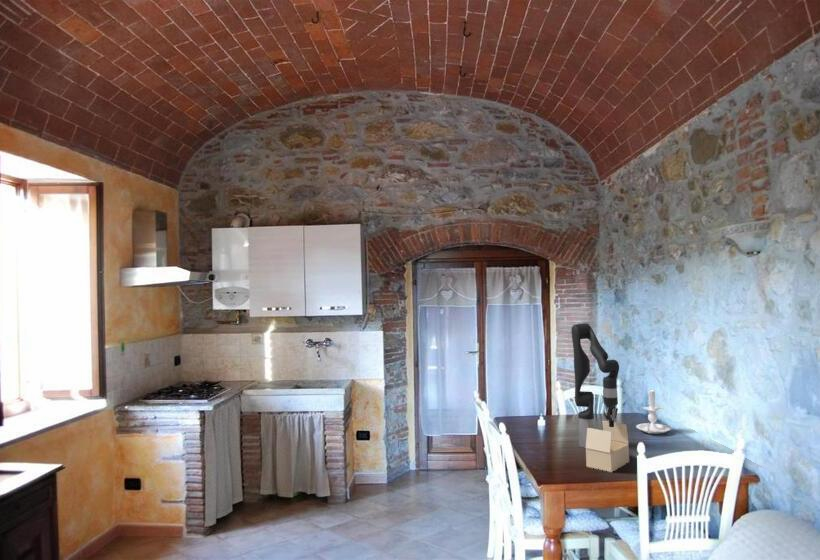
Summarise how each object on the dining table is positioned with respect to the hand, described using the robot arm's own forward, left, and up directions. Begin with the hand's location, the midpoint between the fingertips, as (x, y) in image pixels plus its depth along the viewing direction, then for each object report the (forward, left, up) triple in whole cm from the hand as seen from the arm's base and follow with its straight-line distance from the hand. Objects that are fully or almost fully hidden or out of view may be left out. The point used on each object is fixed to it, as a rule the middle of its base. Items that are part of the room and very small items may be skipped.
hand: (611, 426), depth 292 cm
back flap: (-4, 0, -4) cm, 5 cm away
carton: (+6, 0, -19) cm, 20 cm away
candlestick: (-69, -5, -20) cm, 72 cm away
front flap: (+16, 0, -4) cm, 16 cm away
